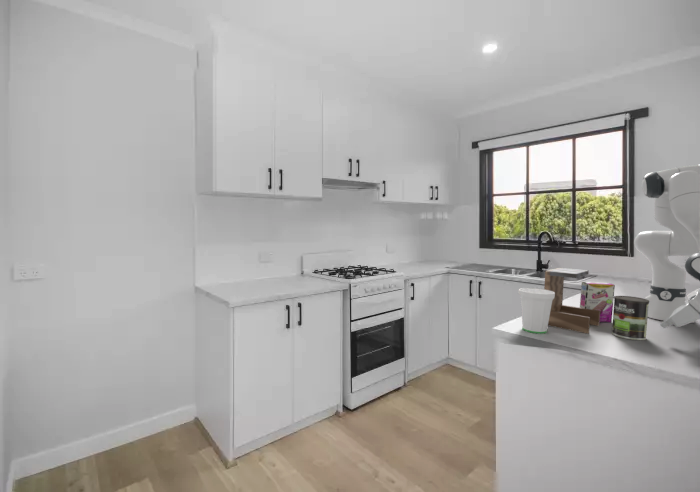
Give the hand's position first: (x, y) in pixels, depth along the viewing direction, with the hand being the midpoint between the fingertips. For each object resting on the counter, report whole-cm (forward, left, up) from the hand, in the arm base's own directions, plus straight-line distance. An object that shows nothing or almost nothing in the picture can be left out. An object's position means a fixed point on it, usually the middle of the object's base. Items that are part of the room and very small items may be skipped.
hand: (662, 325), depth 127 cm
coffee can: (0, -9, -6) cm, 11 cm away
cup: (+20, -35, -6) cm, 41 cm away
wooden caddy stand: (0, -27, -6) cm, 28 cm away
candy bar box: (-16, -23, -6) cm, 29 cm away
